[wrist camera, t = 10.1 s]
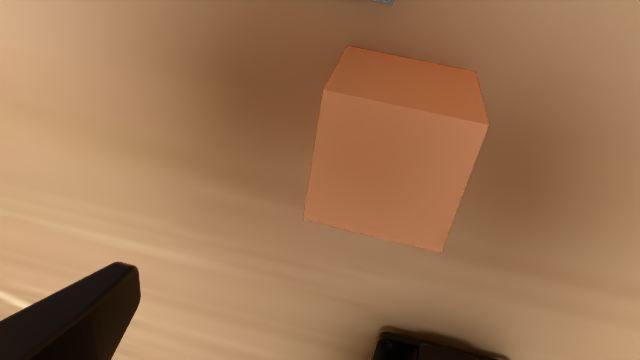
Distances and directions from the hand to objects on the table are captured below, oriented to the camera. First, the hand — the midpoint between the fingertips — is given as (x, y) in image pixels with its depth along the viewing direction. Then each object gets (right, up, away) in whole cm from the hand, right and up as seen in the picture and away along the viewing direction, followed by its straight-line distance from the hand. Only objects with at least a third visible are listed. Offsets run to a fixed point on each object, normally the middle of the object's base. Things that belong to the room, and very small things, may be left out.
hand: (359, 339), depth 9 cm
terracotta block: (+2, +5, +9) cm, 11 cm away
